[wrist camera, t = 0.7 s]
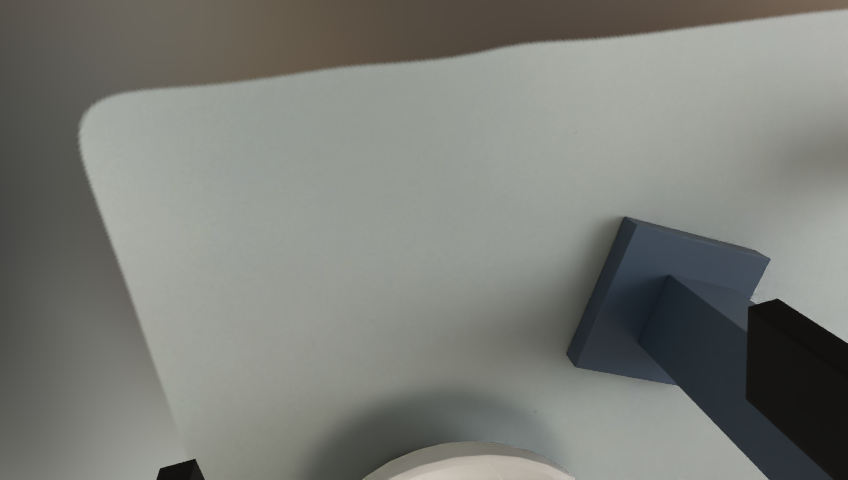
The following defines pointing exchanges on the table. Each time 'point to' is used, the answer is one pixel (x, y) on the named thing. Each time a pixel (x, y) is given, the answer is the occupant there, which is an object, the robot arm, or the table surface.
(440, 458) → the bowl
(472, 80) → the table surface
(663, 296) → the lectern stand
